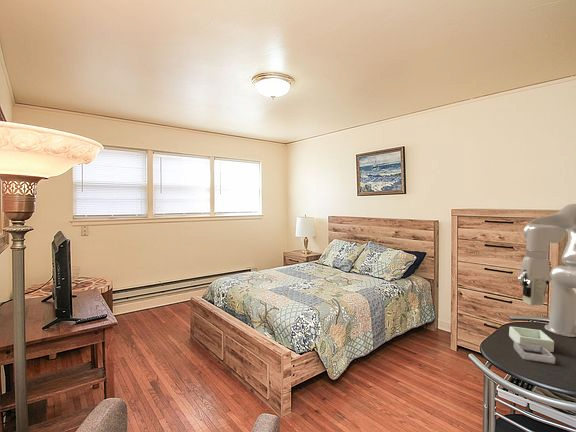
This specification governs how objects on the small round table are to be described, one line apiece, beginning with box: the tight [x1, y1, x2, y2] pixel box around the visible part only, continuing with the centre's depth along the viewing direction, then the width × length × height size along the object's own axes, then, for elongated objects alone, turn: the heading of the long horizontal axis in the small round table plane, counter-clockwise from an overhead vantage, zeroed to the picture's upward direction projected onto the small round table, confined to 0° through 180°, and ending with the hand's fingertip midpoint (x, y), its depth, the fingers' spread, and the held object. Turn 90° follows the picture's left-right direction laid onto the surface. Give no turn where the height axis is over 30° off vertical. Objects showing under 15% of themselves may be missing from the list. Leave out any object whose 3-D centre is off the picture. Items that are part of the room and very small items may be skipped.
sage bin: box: [508, 326, 555, 353], centre depth 138 cm, size 12×12×4 cm
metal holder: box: [513, 341, 556, 365], centre depth 127 cm, size 10×10×2 cm
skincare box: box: [522, 278, 546, 306], centre depth 137 cm, size 6×4×12 cm
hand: (533, 295), depth 137 cm, fingers closed on skincare box, 6 cm apart
